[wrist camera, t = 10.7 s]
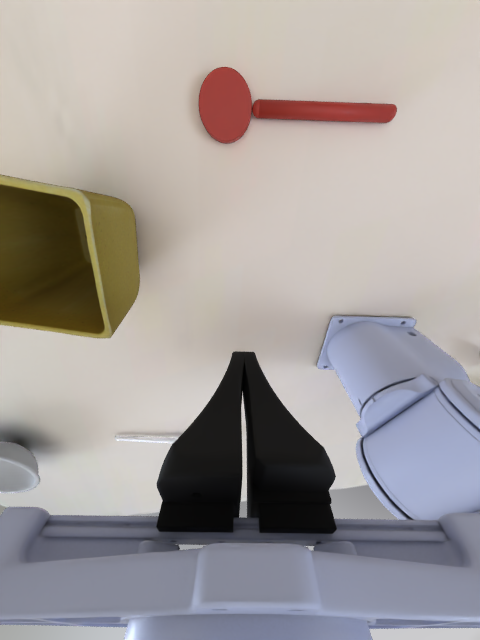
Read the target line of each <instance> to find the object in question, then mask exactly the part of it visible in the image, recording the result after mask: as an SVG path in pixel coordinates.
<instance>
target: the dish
mask: <svg viewBox="0 0 480 640" xmlns="http://www.w3.org/2000/svg"><path fill="white" fill-rule="evenodd" d="M39 483H40V476H39V475H38V464H37V461H36V458H35V456H34V455H33V454H32V453H31V452H30V451H29V450H28V449H26V448H24V447H23V446H20V445H19V444H18V443H15V442H11V443H10V442H3V441H0V493H19V492H25V491H29V490H32V489H34V488H35V487H36V486H37V485H38V484H39Z"/></svg>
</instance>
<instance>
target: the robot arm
mask: <svg viewBox="0 0 480 640" xmlns="http://www.w3.org/2000/svg"><path fill="white" fill-rule="evenodd" d="M340 319H342V320H341V321H339V320H340ZM402 321H403V322H402ZM401 322H402V323H401ZM415 324H416V320H415V319H414V318H399V317H364V316H334V317H332V318H331V321H330V324H329V327H328V331H327V334H326V337H325V340H324V344H323V347H322V350H321V353H320V357H319V360H318V363H317V367H318V369H329V370H335V371H336V373H337V375H338V377H339V379H340V381H341V383H342V384H343V386H344V388H345V390H346V392H347V394H348V396H349V398H350V399H351V401H352V403H353V405H354V407H355V409H356V411H357V413H358V414H359V416H360V418H361V419H360V421H359V422H358V423H357V424H356V426H357V428H358V430H359V432H360V434H361V436H362V437H361V438H360V439H359V440H358V441H357V444H356V455H357V459H358V462H359V465H360V468H361V471H362V473H363V476H364V478H365V480H366V481H367V483H368V485H369V486H370V488H371V489H372V491H373V493H374V494H375V495H376V497H377V498H378V499H379V500H380V501H381V503H382V504H383V505H384V506H385V507H386V508H387V509H388V510H389V511H390V512H391V513H392V514H393V515H394V516H395V517H397V518H398V519H399V520H386V519H334V517H333V513H332V510H331V506H330V504H331V498H330V494H329V491H328V490H329V489H330V487H331V485H332V484H333V482H334V480H335V477H336V476H335V472H334V469H333V466H332V464H331V462H330V459H329V457H328V455H327V453H326V451H325V449H324V447H323V446H322V445H320V444H319V443H318V442H317V441H316V440H315V439H314V438H313V437H312V436H311V435H310V434H309V433H308V432H307V431H306V430H305V429H304V428H303V427H302V426H301V425H300V424H299V423H298V422H297V421H296V419H295V418H294V417H293V416H292V415H291V414H290V412H289V411H288V410H287V409H286V408H285V406H284V405H283V404H282V402H281V401H280V400H279V398H278V397H277V395H276V394H275V392H274V391H273V389H272V388H271V386H270V385H269V383H268V381H267V379H266V377H265V376H264V374H263V372H262V370H261V368H260V365H259V363H258V361H257V358H256V355H255V353H254V352H233V353H232V357H231V361H230V364H229V366H228V369H227V371H226V373H225V375H224V377H223V379H222V381H221V383H220V385H219V387H218V388H217V390H216V392H215V393H214V395H213V396H212V398H211V400H210V401H209V402H208V404H207V405H206V407H205V408H204V409H203V411H202V412H201V413H200V414H199V416H198V417H197V418H196V419H195V420H194V422H193V423H192V424H191V425H190V426H189V427H188V429H187V430H186V431H185V432H184V433H183V434H182V435H181V436H180V437H179V438H178V439H177V440H176V441H175V442H174V443H173V444H172V446H171V448H170V450H169V452H168V454H167V456H166V458H165V460H164V463H163V465H162V468H161V471H160V474H159V478H158V481H157V488H158V491H159V493H160V495H161V497H162V500H163V502H162V505H161V509H160V513H159V516H158V517H157V516H156V517H154V516H83V515H50V514H49V513H48V511H46V510H44V509H42V508H38V507H8V508H6V509H5V510H4V511H3V512H2V514H1V515H0V625H52V626H54V625H55V626H94V627H95V626H96V627H127V630H126V634H125V637H124V640H372V637H371V633H370V630H369V629H380V628H381V629H383V628H384V629H385V628H386V629H388V628H480V387H479V386H477V385H475V384H473V383H471V382H470V380H469V378H468V376H467V374H466V372H465V370H464V369H463V367H462V366H461V365H460V364H459V363H458V362H457V361H456V360H455V359H454V358H452V357H451V356H450V355H448V354H447V353H446V352H444V351H443V350H442V349H441V348H439V347H438V346H437V345H435V344H434V343H433V342H431V341H430V340H429V339H427V338H426V337H425V336H424V335H422V334H421V333H420V332H418V331H417V330H416V329H414V328H413V327H414V326H415ZM325 365H326V366H325ZM242 392H243V399H244V409H245V419H246V432H247V518H239V510H240V500H241V487H242V431H241V403H242ZM175 544H191V545H192V544H193V545H195V544H196V545H206V546H203V548H200V549H188V550H179V549H180V548H179V546H178V545H175ZM305 546H314V551H311V550H309V549H308V547H305Z"/></svg>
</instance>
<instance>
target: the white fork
mask: <svg viewBox="0 0 480 640" xmlns="http://www.w3.org/2000/svg"><path fill="white" fill-rule="evenodd" d="M178 438H179V437H145V436H115V439H116V440H118V441H136V442H155V443H174V442H175V441H176V440H177V439H178Z"/></svg>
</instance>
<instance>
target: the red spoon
mask: <svg viewBox="0 0 480 640" xmlns="http://www.w3.org/2000/svg"><path fill="white" fill-rule="evenodd" d="M251 110H252V111H253V115H254V116H255V117H256V118H264V119H292V120H320V121H348V122H377V123H387V122H389V121H391V120H392V119H393V118H394V117H395V115H396V112H397V108H396V106H395V105H394V104H372V103H344V102H317V101H289V100H261V99H259V100H256V101H255V102H254V104H253V107H252V101H251V94H250V91H249V88H248V85H247V83H246V81H245V80H244V78H243V77H242V76H241V75H240V74H239V73H238V72H237V71H236V70H234V69H232V68H229V67H220V68H217V69H215V70H213V71H212V72H211V73H210V74H209V75H208V76H207V77H206V78H205V80H204V82H203V84H202V87H201V90H200V94H199V112H200V116H201V120H202V122H203V124H204V126H205V128H206V130H207V132H208V133H209V134H210V135H211V137H213V138H214V139H215V140H217V141H219V142H221V143H232V142H235V141H237V140H238V139H239V138H241V137H242V135H243V134H244V133H245V131H246V130H247V128H248V125H249V122H250V118H251Z"/></svg>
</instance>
